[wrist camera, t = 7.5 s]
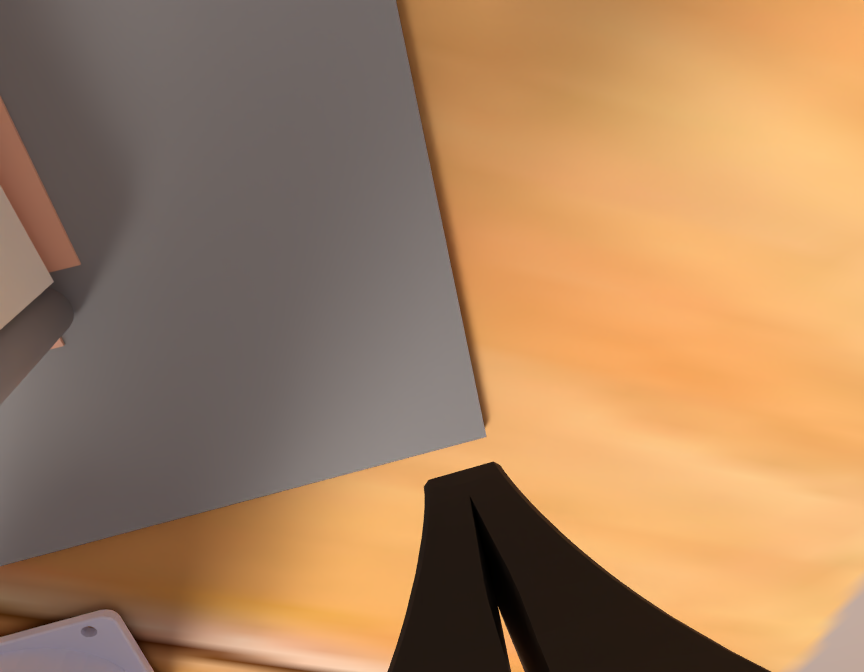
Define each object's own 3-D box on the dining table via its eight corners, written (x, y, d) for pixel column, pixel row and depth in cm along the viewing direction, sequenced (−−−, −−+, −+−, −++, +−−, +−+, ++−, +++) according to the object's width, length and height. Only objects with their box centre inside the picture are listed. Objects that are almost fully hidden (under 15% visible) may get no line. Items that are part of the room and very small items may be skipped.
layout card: (-165, 602, 21) (-175, 614, 21) (-805, -125, 12) (-848, -132, 12) (483, 430, 22) (487, 438, 22) (320, -355, 13) (320, -369, 13)
